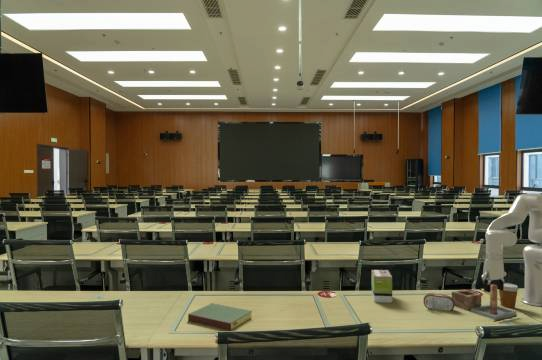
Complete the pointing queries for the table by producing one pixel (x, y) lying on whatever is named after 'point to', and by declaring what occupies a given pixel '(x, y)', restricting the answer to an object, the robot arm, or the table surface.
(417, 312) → the table surface
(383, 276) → the tea box
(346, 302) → the table surface
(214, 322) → the hardcover book
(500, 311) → the tray
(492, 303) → the dowel
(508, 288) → the disposable coffee cup
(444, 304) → the tin
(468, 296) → the socket block
